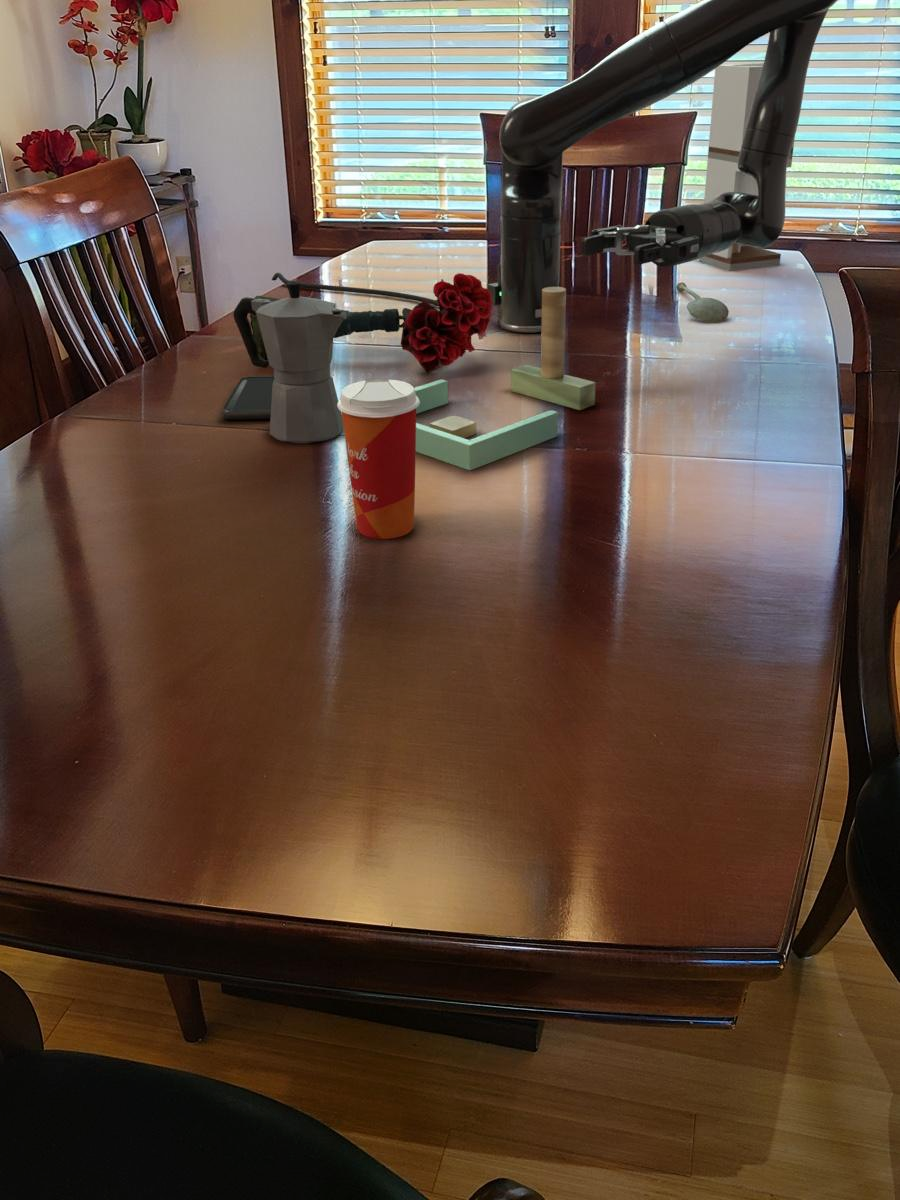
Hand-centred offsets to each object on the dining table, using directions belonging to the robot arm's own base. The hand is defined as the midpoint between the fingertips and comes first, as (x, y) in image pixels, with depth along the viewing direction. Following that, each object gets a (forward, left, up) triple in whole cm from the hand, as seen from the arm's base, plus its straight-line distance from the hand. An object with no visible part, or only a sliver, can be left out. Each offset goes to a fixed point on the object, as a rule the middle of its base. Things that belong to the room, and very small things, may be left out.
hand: (609, 251), depth 139 cm
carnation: (-27, -21, -17) cm, 38 cm away
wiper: (+2, -11, -17) cm, 20 cm away
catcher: (+6, -28, -17) cm, 33 cm away
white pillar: (-42, +71, -17) cm, 84 cm away
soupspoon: (-22, +39, -17) cm, 48 cm away
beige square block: (+6, -29, -17) cm, 34 cm away
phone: (-20, -42, -17) cm, 49 cm away
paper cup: (+24, -49, -17) cm, 57 cm away
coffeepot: (-7, -43, -17) cm, 47 cm away
